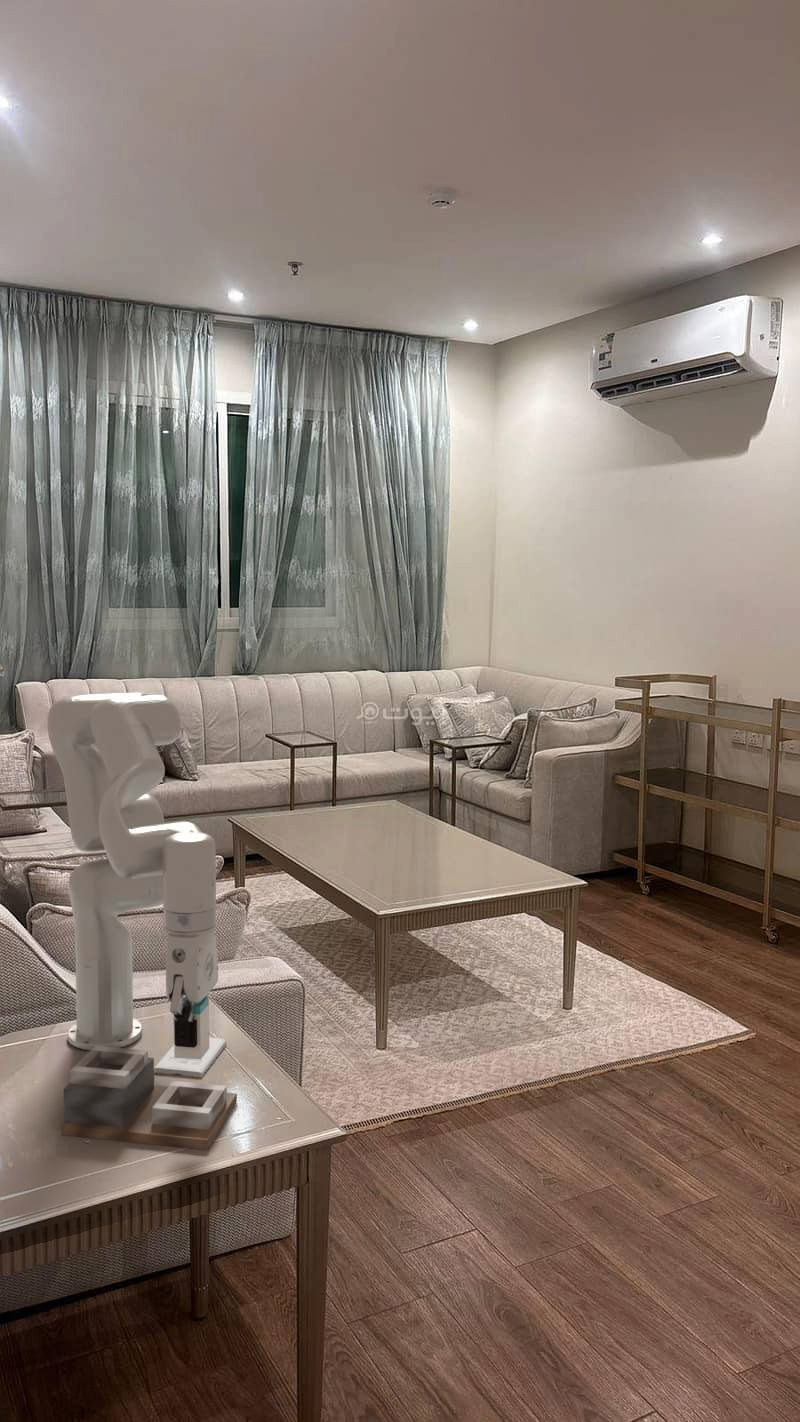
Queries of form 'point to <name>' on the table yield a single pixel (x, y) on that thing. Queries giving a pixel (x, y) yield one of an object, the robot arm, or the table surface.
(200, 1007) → the plug block
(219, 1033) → the table surface
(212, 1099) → the socket console
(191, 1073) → the external hard drive
